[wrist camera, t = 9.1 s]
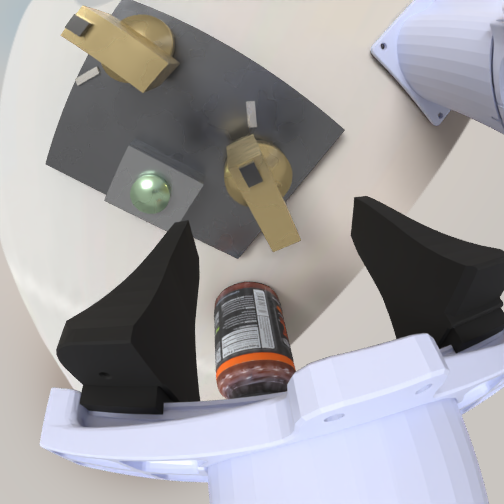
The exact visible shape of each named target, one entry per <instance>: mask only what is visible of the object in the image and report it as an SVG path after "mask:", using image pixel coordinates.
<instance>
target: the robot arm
mask: <svg viewBox="0 0 504 504" xmlns="http://www.w3.org/2000/svg"><path fill="white" fill-rule="evenodd" d="M381 43H382V44H383V45H384V49H381V46H380V45H381ZM371 53H372V55H373V56H374V57H375V58H376V59H377V60H378V61H379V62H380V63H381V64H382V65H383V66H384V67H385V68H386V69H387V70H388V71H389V73H390V74H391V75H392V76H393V77H394V78H395V79H396V80H397V81H398V82H399V84H400V85H401V86H402V87H403V88H404V89H405V91H406V92H407V93H408V94H409V95H410V97H411V98H412V99H413V100H414V101H415V103H416V104H417V105H418V106H419V108H420V109H421V110H422V112H423V113H424V114H425V116H426V117H427V118H428V120H429V121H430V122H431V123H432V124H433V125H435V126H438V125H439V124H440V123H441V122H442V121H443V120H444V118H445V117H446V116H447V115H448V113H449V112H450V111H451V110H453V111H456V112H458V113H460V114H463V115H465V116H467V117H469V118H472V119H474V120H476V121H478V122H480V123H483V124H485V125H487V126H489V127H491V128H493V129H494V130H496V131H498V132H500V133H502V134H504V0H414V1H413V2H412V3H411V4H410V5H409V6H408V7H407V8H406V9H405V10H404V11H403V12H402V13H401V14H400V15H399V17H398V18H397V19H396V20H395V21H394V22H393V23H392V24H391V25H390V26H389V27H388V29H387V30H386V31H385V32H384V33H383V34H382V35H381V36H380V37H379V39H378V40H377V41H376V42H375V43H374V44H373V45H372V47H371ZM439 113H440V116H439V117H438V114H439ZM351 237H352V240H353V242H354V245H355V247H356V250H357V252H358V254H359V256H360V258H361V259H362V261H363V263H364V265H365V266H366V268H367V270H368V272H369V273H370V275H371V277H372V278H373V280H374V282H375V284H376V286H377V288H378V289H379V291H380V294H381V295H382V297H383V300H384V303H385V305H386V308H387V311H388V313H389V316H390V319H391V322H392V325H393V328H394V331H395V335H396V340H392V341H389V342H386V343H382V344H378V345H375V346H371V347H367V348H363V349H359V350H355V351H351V352H347V353H343V354H338V355H334V356H329V357H326V358H323V359H321V360H317V361H315V362H311V363H309V364H307V365H306V366H304V367H303V368H301V369H300V370H298V371H296V372H295V373H294V374H293V376H292V377H291V379H290V381H289V383H288V384H287V391H286V392H280V393H273V394H267V395H260V396H252V397H244V398H235V399H225V400H213V401H200V396H199V387H198V376H197V364H196V347H195V318H196V307H197V297H198V288H199V256H198V253H197V249H196V245H195V242H194V238H193V235H192V231H191V227H190V224H189V220H186V221H180V222H175V223H174V224H173V225H172V226H171V228H170V229H169V230H168V231H167V233H166V234H165V235H164V237H163V238H162V239H161V240H160V242H159V243H158V244H157V245H156V247H155V248H154V249H153V250H152V252H151V253H150V254H149V255H148V256H147V257H146V259H145V260H144V261H143V262H142V263H141V264H140V265H139V266H138V267H137V269H136V270H135V271H134V272H133V273H132V274H130V275H129V276H128V277H127V278H126V279H125V280H124V281H123V282H122V283H121V284H119V285H118V286H117V287H116V288H115V289H113V290H112V291H111V292H110V293H109V294H107V295H106V296H105V297H103V298H102V299H101V300H99V301H98V302H96V303H95V304H94V305H92V306H91V307H89V308H88V309H86V310H84V311H83V312H81V313H79V314H78V315H76V316H74V317H72V318H71V319H69V320H67V321H66V324H65V326H64V329H63V332H62V335H61V338H60V340H59V343H58V346H57V349H56V352H57V357H58V359H59V361H60V362H61V364H62V365H63V366H64V367H65V368H66V369H67V370H68V371H69V372H70V373H71V374H72V375H73V376H74V377H75V378H76V379H77V380H78V381H80V382H81V383H82V384H83V388H82V393H81V392H79V391H77V390H73V389H65V388H56V387H53V388H51V392H50V396H49V400H48V405H47V409H46V414H45V418H44V423H43V429H42V434H41V441H40V446H41V447H42V448H44V449H46V450H48V451H50V452H52V453H54V454H56V455H58V456H60V457H63V458H65V459H67V460H69V461H71V462H74V463H76V464H78V465H81V466H85V467H90V468H94V469H99V470H104V471H109V472H114V473H120V474H126V475H132V476H139V477H145V478H153V479H162V480H172V481H187V482H208V485H209V498H210V504H489V502H488V497H487V493H486V489H485V485H484V481H483V478H482V474H481V471H480V467H479V464H478V461H477V458H476V454H475V451H474V448H473V445H472V442H471V439H470V437H469V434H468V431H467V428H466V426H465V423H464V421H463V418H462V414H464V413H466V412H467V411H469V410H471V409H472V408H474V407H475V406H477V405H478V404H480V403H481V402H483V401H485V400H486V399H487V398H489V397H490V396H492V395H493V394H495V393H496V392H498V391H499V390H500V389H502V388H503V387H504V312H503V310H502V309H501V307H502V306H503V302H502V300H501V299H500V296H501V294H502V292H503V291H504V251H503V250H501V249H496V248H491V247H486V246H481V245H477V244H473V243H469V242H466V241H463V240H459V239H457V238H454V237H451V236H448V235H446V234H443V233H441V232H438V231H436V230H433V229H431V228H429V227H427V226H424V225H422V224H420V223H418V222H416V221H414V220H412V219H410V218H409V217H407V216H405V215H403V214H401V213H399V212H397V211H396V210H394V209H392V208H390V207H388V206H386V205H385V204H383V203H381V202H379V201H377V200H375V199H373V198H370V197H368V196H363V197H354V208H353V219H352V229H351Z"/></svg>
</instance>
